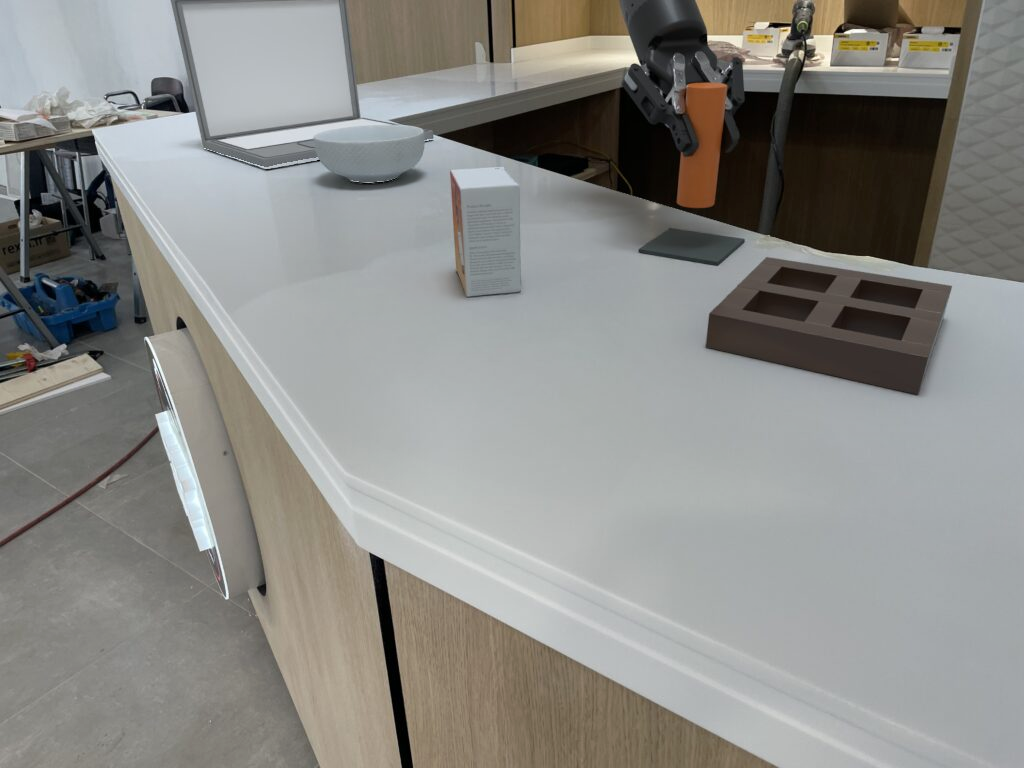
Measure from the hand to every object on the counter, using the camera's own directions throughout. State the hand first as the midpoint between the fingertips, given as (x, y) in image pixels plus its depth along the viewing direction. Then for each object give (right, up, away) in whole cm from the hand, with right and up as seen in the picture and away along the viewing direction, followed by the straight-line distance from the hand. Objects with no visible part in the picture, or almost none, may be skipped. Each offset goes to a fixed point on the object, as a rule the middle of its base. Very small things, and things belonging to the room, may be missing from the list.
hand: (711, 149), depth 75 cm
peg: (-1, -4, +4) cm, 6 cm away
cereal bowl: (-42, +8, +41) cm, 59 cm away
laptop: (-58, +22, +67) cm, 91 cm away
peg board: (+6, -20, -14) cm, 25 cm away
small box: (-23, -14, -1) cm, 27 cm away
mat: (0, -9, +7) cm, 11 cm away
